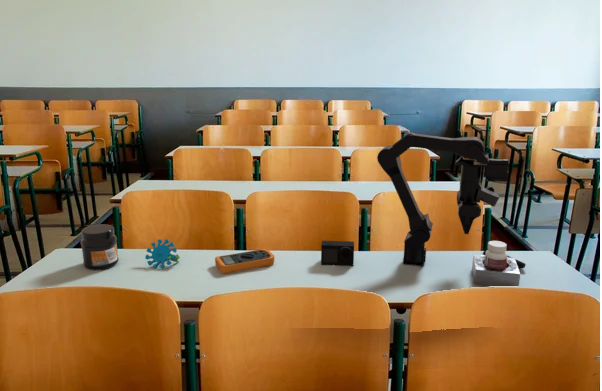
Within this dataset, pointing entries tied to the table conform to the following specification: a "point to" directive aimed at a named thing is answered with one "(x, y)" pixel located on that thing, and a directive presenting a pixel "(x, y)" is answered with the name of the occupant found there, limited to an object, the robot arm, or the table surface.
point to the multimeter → (244, 261)
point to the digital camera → (337, 253)
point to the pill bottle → (496, 255)
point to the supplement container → (99, 247)
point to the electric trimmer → (519, 263)
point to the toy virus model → (162, 254)
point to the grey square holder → (494, 273)
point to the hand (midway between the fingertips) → (465, 228)
